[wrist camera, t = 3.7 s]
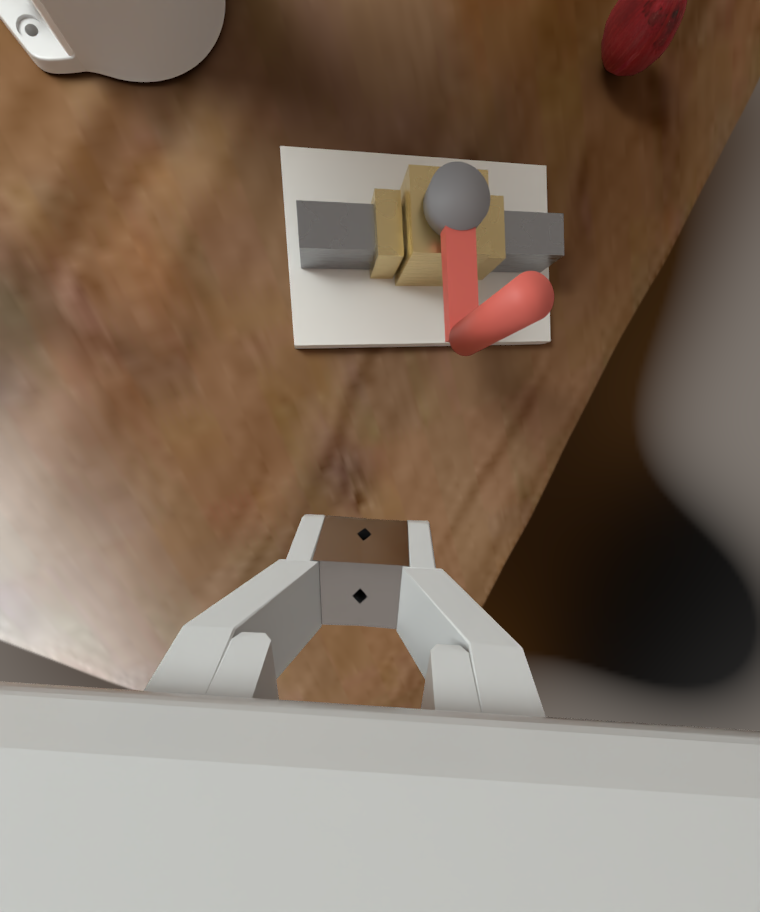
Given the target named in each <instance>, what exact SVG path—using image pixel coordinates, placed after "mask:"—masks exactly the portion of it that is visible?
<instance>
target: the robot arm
mask: <svg viewBox="0 0 760 912" xmlns="http://www.w3.org/2000/svg"><path fill="white" fill-rule="evenodd" d="M224 15H225V0H0V19H1V20H2V21H3V23H4V24H5V25H6V27H7V28H8V29H9V30H10V32H11V33H12V34H13V36H14V37H15V38H16V39H17V41H18V42H19V43H20V45H21V46H22V47H23V48H24V50H25V51H26V52H27V54H28V55H29V56H30V57H31V59H32V60H33V61H34V62H35V64H36V65H37V66H38V67H39V68H41V69H42V70H44V71H46V72H49V73H54V74H68V73H78V72H85V71H88V72H94V73H99V74H103V75H106V76H110V77H113V78H117V79H121V80H126V81H133V82H156V81H162V80H167V79H171V78H174V77H177V76H179V75H181V74H183V73H185V72H187V71H189V70H191V69H192V68H194V67H195V66H196V65H198V64H199V63H200V62H201V61H202V60H203V59H204V58H205V57H206V56H207V55H208V53H209V52H210V51H211V49H212V48H213V46H214V45H215V43H216V41H217V39H218V37H219V34H220V32H221V29H222V25H223V21H224ZM34 35H36V36H34ZM33 36H34V37H33ZM321 624H327V625H357V626H369V627H380V628H391V629H397V632H398V634H399V636H400V637H401V639H402V641H403V642H404V644H405V646H406V647H407V649H408V651H409V653H410V654H411V656H412V658H413V659H414V661H415V663H416V664H417V666H418V668H419V669H420V671H421V673H422V675H423V676H424V678H425V687H424V693H423V699H422V705H421V709H412V708H396V707H381V706H366V705H351V704H336V703H321V702H305V701H290V700H279V697H278V690H277V682H276V679H277V678H278V677H279V676H280V674H281V673H282V672H283V671H284V670H285V669H286V667H287V666H288V665H289V664H290V663H291V662H292V660H293V659H294V658H295V657H296V656H297V655H298V653H299V652H300V651H301V650H302V649H303V648H304V646H305V645H306V644H307V643H308V642H309V640H310V639H311V638H312V637H313V636H314V635H315V633H316V632H317V631H318V630H319V629H320V628H321ZM0 912H760V731H752V730H737V729H721V728H706V727H691V726H676V725H660V724H644V723H629V722H615V721H599V720H583V719H569V718H568V719H567V718H553V717H546V716H545V713H544V710H543V708H542V704H541V701H540V699H539V695H538V693H537V690H536V687H535V684H534V681H533V678H532V675H531V672H530V669H529V666H528V663H527V660H526V657H525V654H524V651H523V648H522V647H521V646H520V645H519V644H518V643H517V642H516V641H515V640H514V639H513V638H512V637H511V636H510V635H509V634H508V633H507V632H506V631H505V630H504V629H503V628H502V627H501V626H500V625H499V624H498V623H497V622H496V621H495V620H494V619H492V617H490V616H489V615H488V614H487V613H486V612H485V611H484V610H483V609H482V608H481V607H480V606H479V605H478V604H477V603H476V602H475V601H474V600H473V599H472V598H471V597H470V596H469V595H468V594H467V593H466V592H465V591H464V590H463V589H462V588H461V587H460V586H459V585H458V584H457V583H456V582H455V581H454V580H453V579H452V578H451V577H450V576H449V575H448V574H447V573H446V572H445V571H444V570H443V569H436V566H435V559H434V552H433V545H432V538H431V531H430V524H429V522H428V521H417V520H407V521H399V520H380V519H367V518H355V517H342V516H329V515H326V516H325V515H314V514H305V515H304V516H303V517H302V519H301V522H300V525H299V527H298V530H297V532H296V535H295V538H294V540H293V543H292V545H291V548H290V551H289V553H288V556H287V558H286V560H285V559H279V560H278V561H276V562H275V563H273V564H272V565H271V566H269V567H268V568H266V569H265V570H263V571H262V572H260V573H259V574H258V575H256V576H255V577H253V578H252V579H250V580H249V581H247V582H246V583H245V584H243V585H242V586H240V587H239V588H237V589H236V590H234V591H233V592H231V593H230V594H229V595H227V596H226V597H224V598H223V599H221V600H220V601H218V602H217V603H216V604H214V605H213V606H211V607H210V608H208V609H207V610H205V611H204V612H202V613H201V614H200V615H198V616H197V617H195V618H194V619H192V620H191V621H189V622H188V623H187V624H185V625H184V626H183V627H182V629H181V630H180V632H179V634H178V635H177V637H176V638H175V640H174V642H173V643H172V645H171V647H170V648H169V650H168V652H167V653H166V655H165V657H164V658H163V660H162V661H161V663H160V665H159V666H158V668H157V670H156V671H155V673H154V675H153V676H152V678H151V680H150V681H149V683H148V684H147V686H146V688H145V689H144V691H137V690H122V689H107V688H90V687H75V686H60V685H45V684H29V683H15V682H14V683H13V682H0Z"/></svg>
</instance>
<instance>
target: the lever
mask: <svg viewBox="0 0 760 912" xmlns="http://www.w3.org/2000/svg"><path fill="white" fill-rule="evenodd" d="M489 207H490V190H489V187H488V184H487V182H486V180H485V178H484V177H483V175H482V174H481V173H480V172H479V171H478V170H477V169H476V168H475V167H473V166H472V165H470V164H467V163H464V162H450V163H447V164H445V165H443V166H441V167H440V168H439V169H438V170H437V171H436V172H435V174H434V175H433V177H432V179H431V182H430V184H429V186H428V188H427V190H426V193H425V195H424V200H423V210H424V215H425V218H426V220H427V222H428V224H429V226H430V227H431V228H432V229H433V230H434V231H435V232H436V233H437V234H438V235H440V236H441V258H442V280H443V302H444V324H445V342H450V345H451V347H452V349H453V350H454V351H455V352H456V353H457V354H459V355H462V356H469V355H472V354H474V353H476V352H478V351H480V350H482V349H484V348H486V347H488V346H490V345H492V344H494V343H496V342H498V341H500V340H502V339H504V338H506V337H507V336H509V335H511V334H513V333H515V332H517V331H519V330H521V329H523V328H525V327H527V326H529V325H531V324H533V323H535V322H537V321H539V320H541V319H543V318H544V317H546V316H547V315H548V314H549V312H550V311H551V309H552V307H553V303H554V291H553V287H552V285H551V283H550V281H549V280H548V279H547V278H546V277H545V276H544V275H543V274H541V273H539V272H536V271H525V272H523V273H521V274H519V275H518V276H517V277H515V278H514V279H513V280H512V281H510V282H509V283H508V284H506V285H505V286H504V287H503V288H501V289H500V290H499V291H497V292H496V293H495V294H494V295H492V296H491V297H490V298H488V299H487V300H486V301H485V302H483V303H482V304H481V305H479V302H478V275H477V249H476V228H477V227H478V226H479V224H480V223H481V222H482V220H483V219H484V218H485V216H486V215H487V213H488V210H489Z"/></svg>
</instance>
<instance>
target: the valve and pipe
mask: <svg viewBox="0 0 760 912" xmlns="http://www.w3.org/2000/svg"><path fill="white" fill-rule="evenodd" d="M439 168H440V167H439V166H425V165H411V164H409V165H408V168H407V171H406V174H405V177H404V180H403V182H402V185H401V188H400V190H394V189H377V188H374V192H373V197H372V201H371V204H363V203H343V202H323V201H303V200H296V207H297V221H298V235H299V249H300V261H301V268H312V269H365V270H369V271H370V278H375V279H393V277H394V275H395V286H443V280H442V258H441V236H440V235H438V234H437V233H436V232H435V231H434V230H433V229H432V228H431V227H430V226H429V224H428V222H427V220H426V218H425V215H424V210H423V200H424V195H425V193H426V190H427V188H428V186H429V184H430V182H431V179H432V177H433V175H434V174H435V172H436V171H437V170H438V169H439ZM477 170H478V171H479V172H480V173H481V174H482V175H483V177H484V178H485V180H486V182H487V184H488V187H489V182H488V170H482V169H477ZM476 249H477V275H478V280H483V279H484V278H485V277H486V276H487V275H488V274H489V273H490V272H525V271H536V272H539V273H540V272H542V271H543V270H545V269H546V268H547V267H549V266H550V265H552V264H553V263H554V262H556V261H557V260H559V259H560V258H561V257H563V256H564V218H563V213H543V212H523V211H504V196H498V195H490V207H489V210H488V213H487V215H486V216H485V218H484V219H483V220H482V222H481V223H480V224H479V226H478V227H477V228H476Z"/></svg>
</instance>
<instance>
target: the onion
mask: <svg viewBox="0 0 760 912" xmlns="http://www.w3.org/2000/svg"><path fill="white" fill-rule="evenodd" d="M686 4H687V0H618V2H617V3H616V5H615V6H614V8H613V10H612V11H611V13H610V15H609V17H608V19H607V21H606V25H605V30H604V35H603V39H602V43H601V49H602V61H603V64H604V67H605V69H606V70H607V71H608V72H610V73H612V74H615V75H617V76H632V75H635V74H637V73H639V72H641V71H643V70H644V69H645V68H647V67H648V66H649V65H651V64H652V63H653V62H654V61H655V60H657V59H658V58H659V57H660V56H661V55H662V54H663V52H664V51H665V50H666V49H667V47H668V46H669V44H670V42H671V40H672V39H673V37H674V35H675V33H676V31H677V29H678V27H679V25H680V22H681V20H682V18H683V15H684V12H685V8H686Z"/></svg>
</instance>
